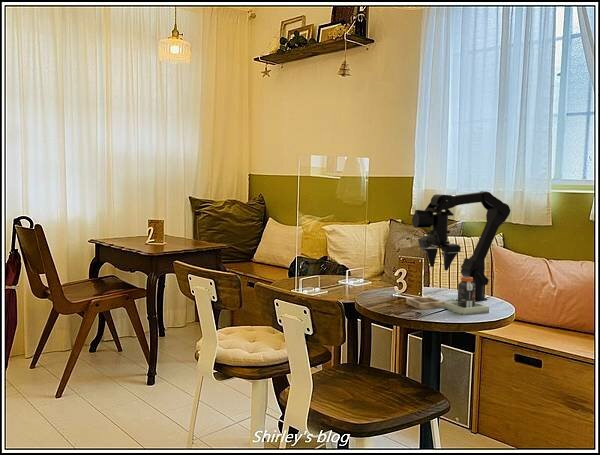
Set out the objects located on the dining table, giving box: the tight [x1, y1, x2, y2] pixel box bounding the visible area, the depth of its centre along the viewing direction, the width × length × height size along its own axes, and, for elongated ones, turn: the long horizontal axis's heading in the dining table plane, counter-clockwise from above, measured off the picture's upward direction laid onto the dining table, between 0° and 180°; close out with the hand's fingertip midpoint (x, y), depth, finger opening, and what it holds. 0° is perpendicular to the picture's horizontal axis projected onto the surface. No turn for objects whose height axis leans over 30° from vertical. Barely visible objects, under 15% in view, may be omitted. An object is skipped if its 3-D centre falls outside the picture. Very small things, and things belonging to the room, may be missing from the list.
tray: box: [443, 300, 490, 316], centre depth 206 cm, size 11×11×2 cm
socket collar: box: [405, 296, 445, 310], centre depth 213 cm, size 10×10×2 cm
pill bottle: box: [457, 276, 476, 308], centre depth 206 cm, size 6×6×11 cm
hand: (438, 268), depth 220 cm, fingers open, 9 cm apart
